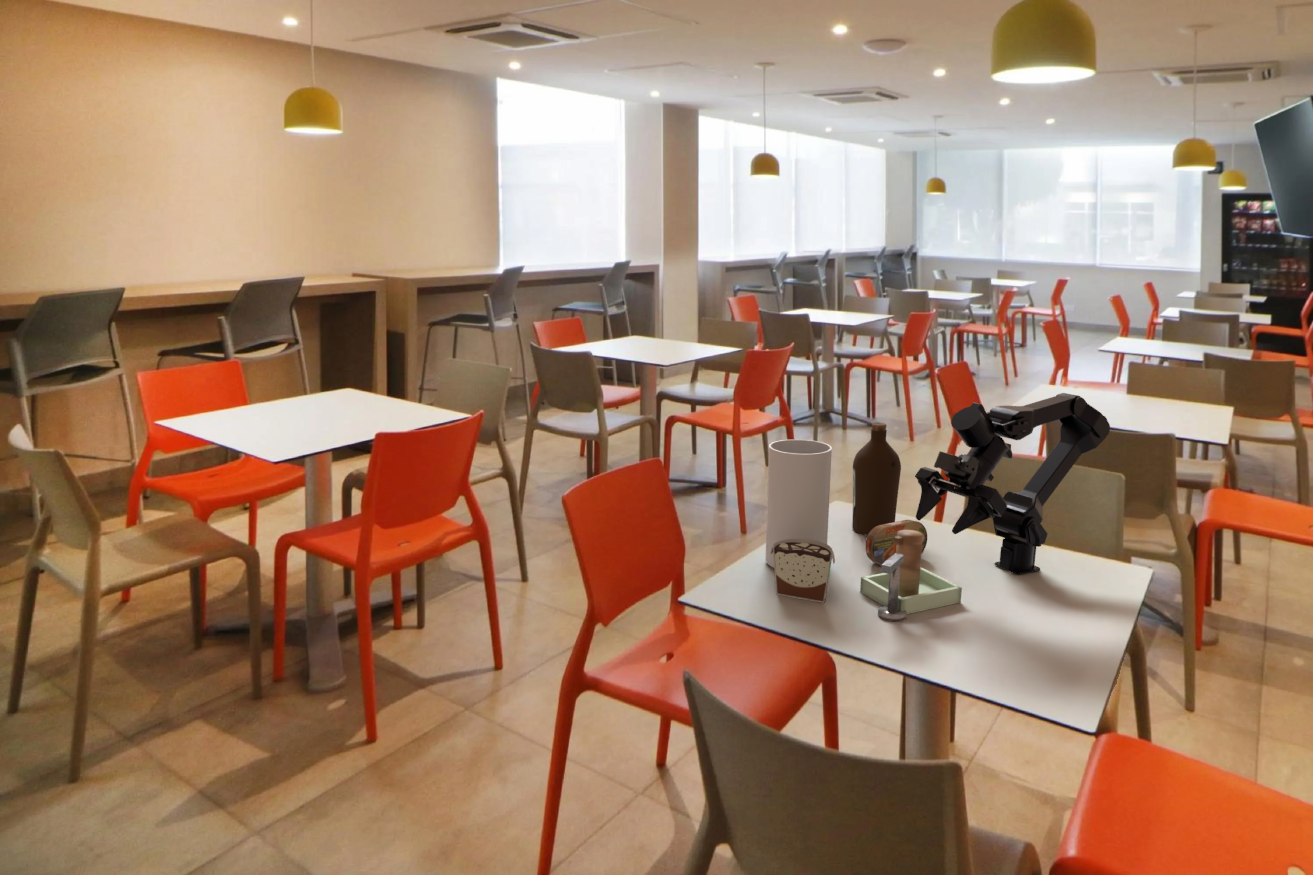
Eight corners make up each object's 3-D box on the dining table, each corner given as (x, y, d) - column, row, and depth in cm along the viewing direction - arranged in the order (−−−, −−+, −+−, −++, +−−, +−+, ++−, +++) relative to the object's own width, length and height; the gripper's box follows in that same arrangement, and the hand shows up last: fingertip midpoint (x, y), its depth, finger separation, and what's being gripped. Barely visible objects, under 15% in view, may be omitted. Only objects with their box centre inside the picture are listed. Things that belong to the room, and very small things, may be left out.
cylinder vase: (836, 571, 193) (842, 451, 187) (780, 577, 189) (784, 456, 183) (810, 550, 204) (814, 437, 198) (756, 556, 201) (759, 441, 195)
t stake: (883, 607, 175) (887, 550, 172) (910, 614, 172) (914, 555, 169) (868, 622, 168) (872, 562, 166) (895, 628, 166) (899, 568, 163)
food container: (840, 592, 182) (842, 543, 179) (832, 604, 176) (834, 553, 174) (778, 582, 187) (780, 533, 184) (768, 593, 181) (770, 543, 179)
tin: (871, 569, 194) (874, 529, 192) (861, 564, 197) (863, 525, 195) (927, 557, 201) (930, 519, 199) (916, 552, 203) (919, 515, 201)
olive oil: (901, 526, 220) (908, 421, 214) (890, 540, 211) (897, 430, 205) (856, 520, 225) (862, 417, 219) (843, 533, 215) (849, 425, 210)
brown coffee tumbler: (906, 587, 182) (910, 528, 179) (923, 595, 178) (928, 535, 175) (883, 593, 179) (887, 533, 176) (900, 601, 175) (905, 540, 172)
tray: (918, 580, 188) (919, 566, 187) (960, 602, 177) (961, 587, 176) (860, 591, 182) (861, 577, 181) (900, 615, 171) (901, 599, 171)
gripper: (924, 426, 186) (879, 489, 183) (1001, 446, 170) (952, 515, 167) (950, 460, 191) (907, 521, 189) (1027, 482, 175) (980, 549, 173)
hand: (934, 525), depth 179 cm, fingers open, 9 cm apart
